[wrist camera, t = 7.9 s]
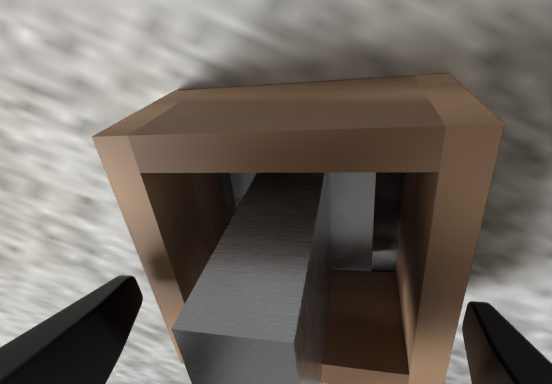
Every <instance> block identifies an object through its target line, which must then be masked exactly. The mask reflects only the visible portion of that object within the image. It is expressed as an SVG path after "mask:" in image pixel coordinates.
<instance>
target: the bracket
mask: <svg viewBox="0 0 552 384" xmlns="http://www.w3.org/2000/svg"><path fill="white" fill-rule="evenodd" d="M230 178H231V183H232V189H233V194H234V199H235V205H236V212H235V214H234V215H233V217H232V219H231V221H230V223H229V224H228V226H227V228H226V230H225V232H224V234H223V235H222V237H221V239H220V241H219V243H218V245H217V246H216V248H215V250H214V252H213V254H212V255H211V257H210V259H209V261H208V263H207V265H206V266H205V268H204V270H203V272H202V274H201V276H200V277H199V279H198V281H197V283H196V285H195V287H194V288H193V290H192V292H191V294H190V296H189V297H188V299H187V301H186V303H185V305H184V307H183V308H182V310H181V312H180V314H179V316H178V318H177V319H176V321H175V323H174V325H173V327H172V328H171V330H172V332H173V335H174V337H175V340H176V343H177V345H178V348H179V351H180V353H181V356H182V358H183V361H184V364H185V366H186V369H187V372H188V374H189V377H190V380H191V382H192V384H321V373H322V363H323V352H324V342H325V331H326V321H327V310H328V299H329V289H330V278H331V269H340V270H355V271H370V272H371V260H372V240H373V221H374V201H375V182H376V172H343V173H230Z"/></svg>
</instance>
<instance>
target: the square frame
mask: <svg viewBox="0 0 552 384" xmlns="http://www.w3.org/2000/svg"><path fill="white" fill-rule="evenodd" d="M504 125H505V124H504V123H503V122H502V121H501V120H500V119H499V118H498V117H497V116H496V115H495V114H493V113H492V112H491V111H490V110H489V109H488V108H487V107H486V106H485V105H484V104H483V103H481V102H480V101H479V100H478V99H477V98H476V97H475V96H474V95H473V94H472V93H471V92H469V91H468V90H467V89H466V88H465V87H464V86H463V85H462V84H461V83H460V82H459V81H458V80H456V79H455V78H454V77H453V76H452V75H451V74H450V73H444V74H429V75H413V76H397V77H381V78H366V79H350V80H334V81H319V82H303V83H287V84H271V85H256V86H240V87H224V88H209V89H193V90H177V91H173V92H171V93H170V94H168V95H166V96H164V97H162V98H161V99H159V100H157V101H155V102H153V103H152V104H150V105H148V106H146V107H144V108H143V109H141V110H139V111H137V112H135V113H134V114H132V115H130V116H128V117H127V118H125V119H123V120H121V121H119V122H118V123H116V124H114V125H112V126H110V127H109V128H107V129H105V130H103V131H101V132H100V133H98V134H96V135H94V136H92V139H93V141H94V144H95V146H96V149H97V151H98V154H99V156H100V159H101V161H102V164H103V166H104V169H105V172H106V174H107V177H108V179H109V182H110V184H111V187H112V189H113V192H114V194H115V197H116V199H117V202H118V204H119V207H120V210H121V212H122V215H123V217H124V220H125V222H126V225H127V227H128V230H129V232H130V235H131V237H132V240H133V242H134V245H135V248H136V250H137V253H138V255H139V258H140V260H141V263H142V265H143V268H144V270H145V273H146V275H147V278H148V280H149V283H150V285H151V288H152V291H153V293H154V296H155V298H156V301H157V303H158V306H159V308H160V311H161V313H162V316H163V318H164V321H165V323H166V326H167V329H168V331H169V334H170V336H171V339H172V341H173V344H174V346H175V349H176V351H177V354H178V356H179V359H180V361H181V363H184V361H183V358H182V356H181V353H180V351H179V348H178V345H177V343H176V340H175V337H174V335H173V332H172V330H171V328H172V327H173V325H174V323H175V321H176V319H177V318H178V316H179V314H180V312H181V310H182V308H183V307H184V305H185V303H186V301H187V299H188V297H189V296H190V294H191V292H192V290H193V288H194V287H195V285H196V283H197V281H198V279H199V277H200V276H201V274H202V272H203V270H204V268H205V266H206V265H207V263H208V261H209V259H210V257H211V255H212V254H213V252H214V250H215V248H216V246H217V245H218V243H219V241H220V239H221V237H222V235H223V234H224V232H225V230H226V228H227V226H228V224H229V220H228V216H227V211H226V206H225V202H224V197H223V192H222V187H221V183H220V178H219V173H343V172H405V176H404V187H403V198H402V209H401V220H400V231H399V243H398V254H397V265H396V273H394V272H378V271H371V272H370V271H355V270H340V269H331V278H330V289H329V299H328V310H327V321H326V331H325V342H324V352H323V363H322V373H321V382H324V383H331V384H444V381H445V377H446V373H447V368H448V364H449V360H450V356H451V351H452V347H453V343H454V339H455V334H456V330H457V326H458V321H459V317H460V313H461V309H462V304H463V300H464V296H465V292H466V287H467V283H468V279H469V274H470V270H471V266H472V262H473V257H474V253H475V249H476V245H477V240H478V236H479V232H480V227H481V223H482V219H483V215H484V210H485V206H486V202H487V198H488V193H489V189H490V185H491V180H492V176H493V172H494V168H495V163H496V159H497V155H498V151H499V146H500V142H501V138H502V133H503V129H504Z"/></svg>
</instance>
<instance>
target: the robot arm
mask: <svg viewBox="0 0 552 384" xmlns="http://www.w3.org/2000/svg"><path fill="white" fill-rule="evenodd" d="M142 301H143V296H142V293H141V290H140V288H139V286H138V283H137V281H136V279H135V278H134V277H133V276H127V275H120V276H118V277H116V278H114V279H113V280H111V281H109V282H108V283H106V284H104V285H103V286H101V287H99V288H98V289H96V290H94V291H93V292H91V293H90V294H88V295H86V296H85V297H83V298H81V299H80V300H78V301H76V302H75V303H73V304H71V305H70V306H68V307H66V308H65V309H63V310H61V311H60V312H58V313H57V314H55V315H53V316H52V317H50V318H48V319H47V320H45V321H43V322H42V323H40V324H38V325H37V326H35V327H33V328H32V329H30V330H28V331H27V332H25V333H24V334H22V335H20V336H19V337H17V338H15V339H14V340H12V341H10V342H9V343H7V344H5V345H4V346H2V347H0V384H105V383H106V382H107V380H108V378H109V376H110V374H111V372H112V370H113V368H114V366H115V364H116V362H117V361H118V359H119V357H120V355H121V352H122V350H123V348H124V346H125V343H126V341H127V339H128V336H129V334H130V331H131V329H132V326H133V324H134V322H135V319H136V317H137V314H138V312H139V309H140V307H141V305H142ZM462 331H463V338H464V343H465V349H466V354H467V359H468V365H469V370H470V375H471V381H472V384H552V363H551V362H550V361H548V360H547V359H546V358H545V357H544V356H543V355H542V354H541V353H540V352H539V351H538V350H537V349H536V348H535V347H534V346H533V345H532V344H531V343H530V342H529V341H528V340H527V339H526V338H525V337H524V336H523V335H522V334H521V333H520V332H519V331H517V330H516V329H515V328H514V327H513V326H512V325H511V324H510V323H509V322H508V321H507V320H506V319H505V318H504V317H503V316H502V315H501V314H500V313H499V312H498V311H497V310H496V309H495V308H494V307H493V306H492V305H490V304H489V303H486V302H474V301H471V302H469V303H468V305H467V308H466V312H465V316H464V321H463V326H462Z"/></svg>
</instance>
